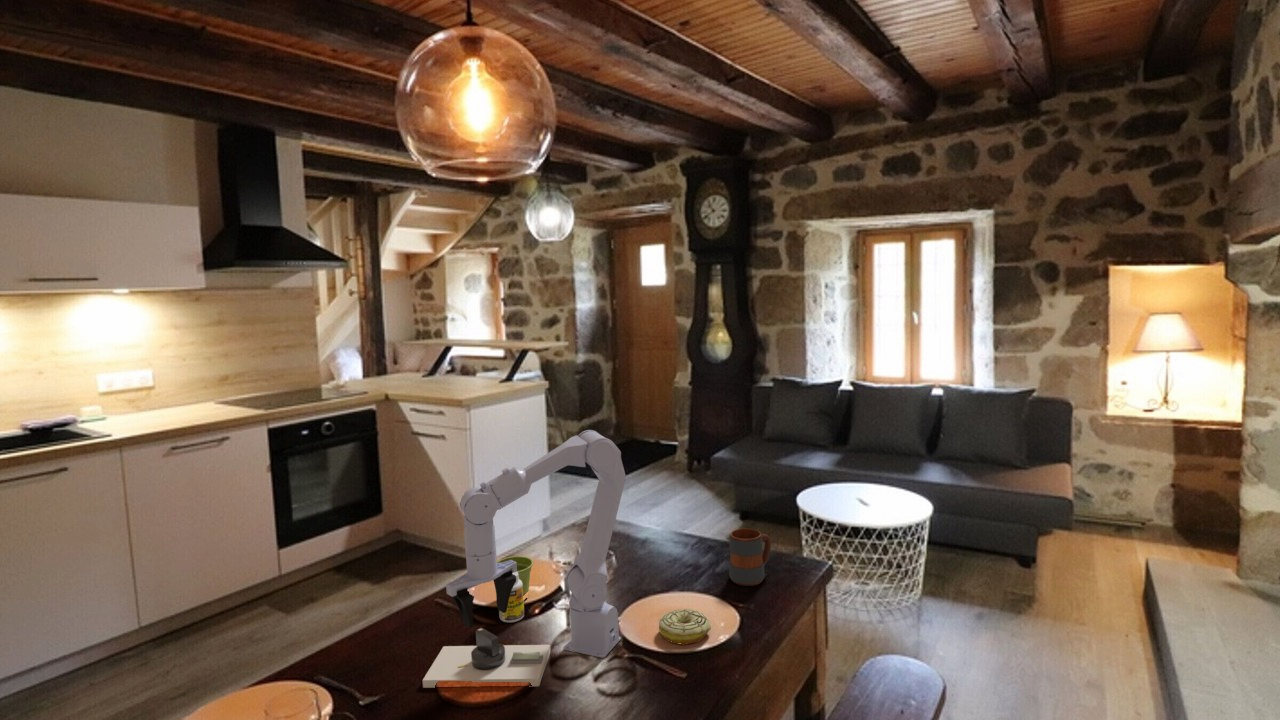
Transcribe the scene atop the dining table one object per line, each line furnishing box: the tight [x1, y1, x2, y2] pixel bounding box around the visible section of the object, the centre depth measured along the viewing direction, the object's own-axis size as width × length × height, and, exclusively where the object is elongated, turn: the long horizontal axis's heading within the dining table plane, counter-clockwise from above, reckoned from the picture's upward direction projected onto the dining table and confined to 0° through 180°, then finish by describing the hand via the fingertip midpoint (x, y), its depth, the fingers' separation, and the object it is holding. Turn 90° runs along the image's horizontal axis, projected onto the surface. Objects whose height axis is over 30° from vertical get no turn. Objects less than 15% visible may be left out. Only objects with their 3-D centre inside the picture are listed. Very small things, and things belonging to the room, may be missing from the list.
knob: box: [471, 627, 505, 670], centre depth 134 cm, size 6×6×6 cm
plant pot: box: [497, 555, 534, 596], centre depth 163 cm, size 9×9×9 cm
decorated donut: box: [658, 608, 712, 645], centre depth 144 cm, size 10×11×4 cm
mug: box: [728, 528, 772, 587], centre depth 169 cm, size 9×12×12 cm
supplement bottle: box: [498, 572, 525, 623], centre depth 154 cm, size 6×6×10 cm
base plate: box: [422, 644, 551, 689], centre depth 134 cm, size 22×12×4 cm, turn 87°
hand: (485, 618), depth 133 cm, fingers open, 7 cm apart
